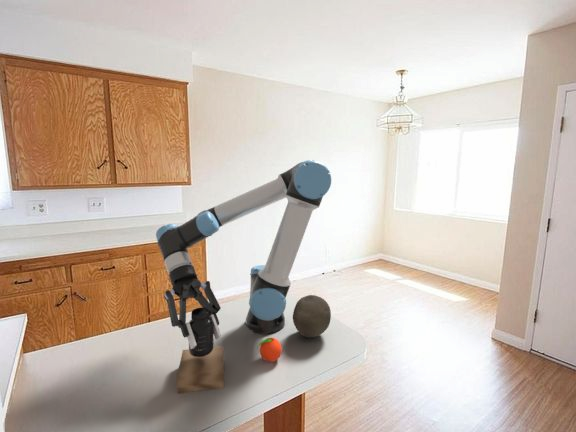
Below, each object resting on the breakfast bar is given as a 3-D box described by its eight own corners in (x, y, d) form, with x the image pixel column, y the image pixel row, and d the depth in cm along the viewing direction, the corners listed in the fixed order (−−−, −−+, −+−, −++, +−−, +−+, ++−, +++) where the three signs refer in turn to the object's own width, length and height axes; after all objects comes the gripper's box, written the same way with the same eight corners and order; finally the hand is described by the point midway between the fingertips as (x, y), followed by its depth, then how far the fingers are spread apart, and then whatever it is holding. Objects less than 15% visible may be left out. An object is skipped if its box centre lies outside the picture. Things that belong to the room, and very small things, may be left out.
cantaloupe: (284, 331, 113) (285, 293, 110) (316, 323, 119) (318, 287, 117) (304, 351, 100) (305, 308, 98) (338, 341, 107) (340, 301, 104)
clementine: (259, 369, 91) (260, 347, 90) (253, 356, 97) (253, 335, 96) (284, 363, 94) (285, 342, 93) (277, 351, 100) (277, 331, 99)
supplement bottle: (191, 344, 89) (191, 305, 88) (215, 343, 90) (214, 305, 88) (186, 358, 83) (185, 316, 81) (211, 357, 83) (211, 316, 81)
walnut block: (223, 360, 94) (223, 345, 94) (223, 387, 83) (223, 370, 82) (183, 365, 92) (182, 349, 91) (177, 393, 80) (177, 376, 80)
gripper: (206, 269, 101) (232, 335, 92) (144, 282, 88) (167, 360, 79) (214, 258, 97) (242, 325, 87) (150, 270, 84) (174, 351, 74)
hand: (206, 342), depth 83 cm, fingers closed on supplement bottle, 7 cm apart
